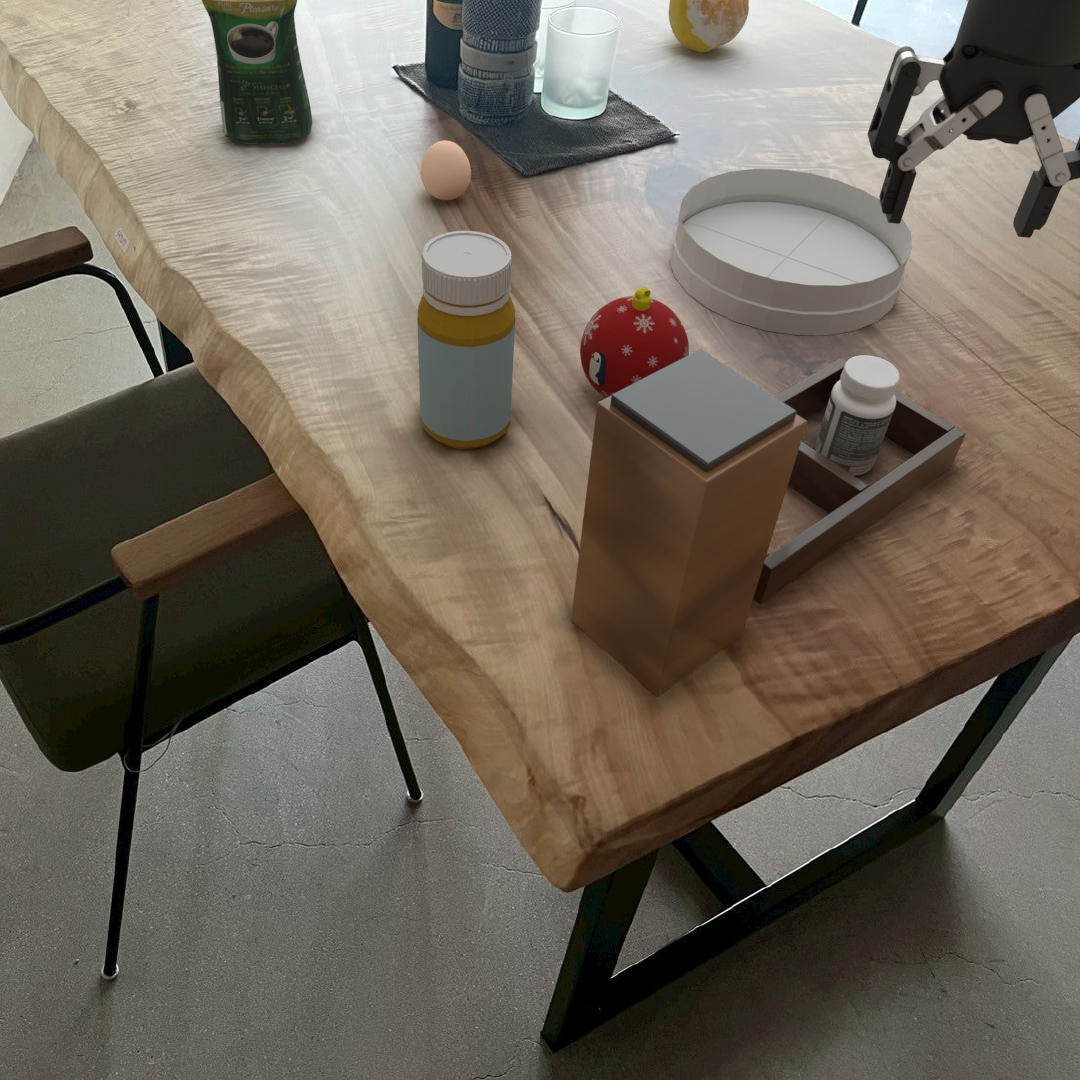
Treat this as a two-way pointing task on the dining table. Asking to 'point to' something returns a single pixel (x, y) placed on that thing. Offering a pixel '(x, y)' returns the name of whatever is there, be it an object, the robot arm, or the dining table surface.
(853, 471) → the pill bottle
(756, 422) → the coaster
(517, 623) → the dining table surface
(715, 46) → the fruit
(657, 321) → the christmas ornament
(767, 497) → the riser
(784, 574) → the rack
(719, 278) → the dish
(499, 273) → the bottle
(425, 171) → the egg
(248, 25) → the coffee jar
